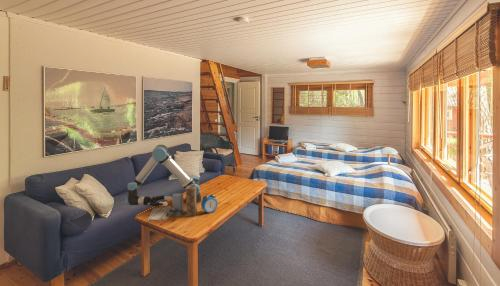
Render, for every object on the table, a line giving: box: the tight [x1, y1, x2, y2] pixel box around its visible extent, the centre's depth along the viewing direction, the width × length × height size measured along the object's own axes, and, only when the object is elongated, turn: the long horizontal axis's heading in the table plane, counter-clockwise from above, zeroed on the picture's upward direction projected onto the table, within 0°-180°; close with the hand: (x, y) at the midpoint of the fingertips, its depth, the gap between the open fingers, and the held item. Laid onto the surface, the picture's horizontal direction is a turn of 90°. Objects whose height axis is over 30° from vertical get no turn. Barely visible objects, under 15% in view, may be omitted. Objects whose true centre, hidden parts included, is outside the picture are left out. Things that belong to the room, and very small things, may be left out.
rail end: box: [171, 192, 184, 209], centre depth 226 cm, size 8×5×14 cm, turn 91°
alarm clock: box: [200, 193, 219, 214], centre depth 223 cm, size 13×6×15 cm, turn 124°
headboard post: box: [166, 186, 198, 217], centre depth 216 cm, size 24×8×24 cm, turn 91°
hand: (169, 200), depth 225 cm, fingers open, 13 cm apart
